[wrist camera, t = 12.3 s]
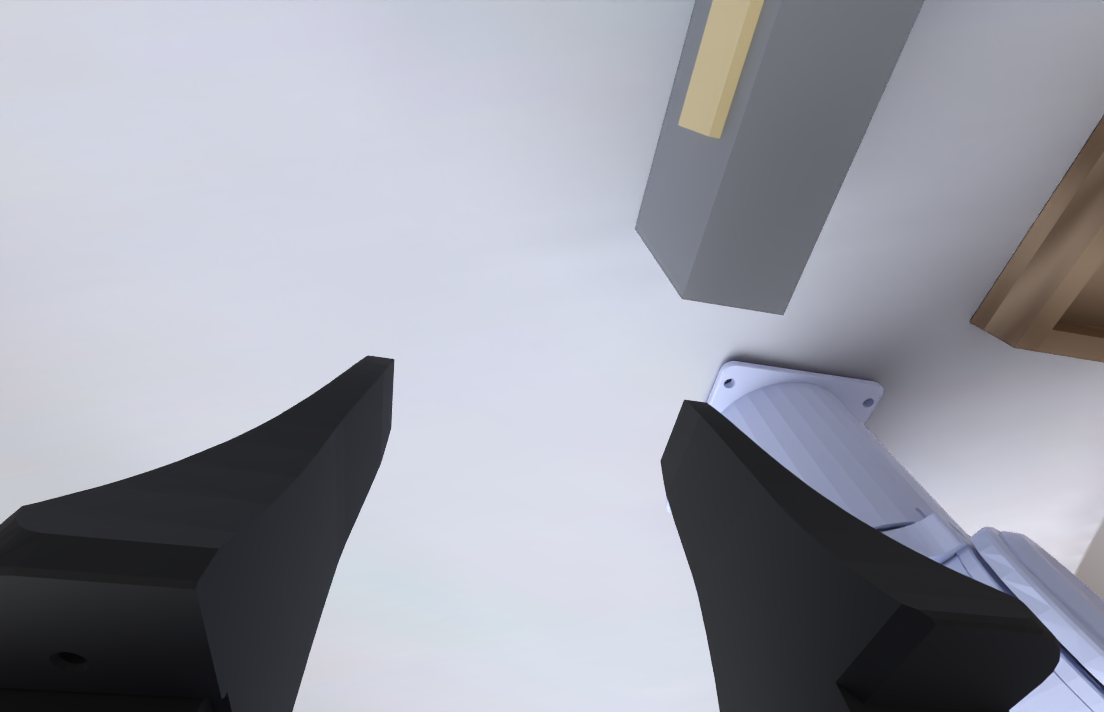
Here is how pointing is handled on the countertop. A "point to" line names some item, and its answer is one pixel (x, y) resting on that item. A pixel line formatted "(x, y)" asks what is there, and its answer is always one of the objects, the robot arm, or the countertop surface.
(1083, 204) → the tray
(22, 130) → the countertop surface
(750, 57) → the wall unit
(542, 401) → the countertop surface
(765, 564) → the robot arm
